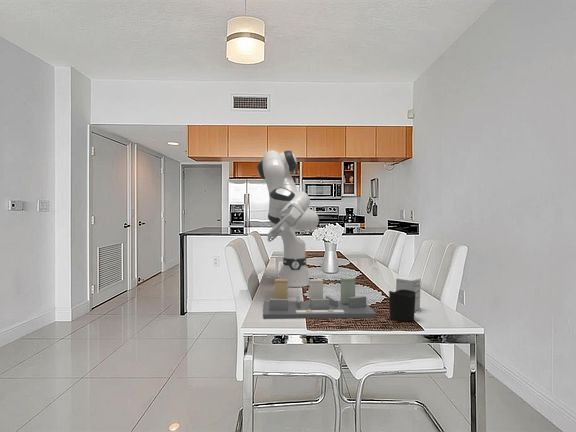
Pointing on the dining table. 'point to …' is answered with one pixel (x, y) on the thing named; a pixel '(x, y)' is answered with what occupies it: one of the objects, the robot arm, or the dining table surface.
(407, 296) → the pen holder
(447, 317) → the dining table surface
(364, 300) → the keypad console
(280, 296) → the key ochre
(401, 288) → the supplement box
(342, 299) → the key sage
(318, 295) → the key cream
